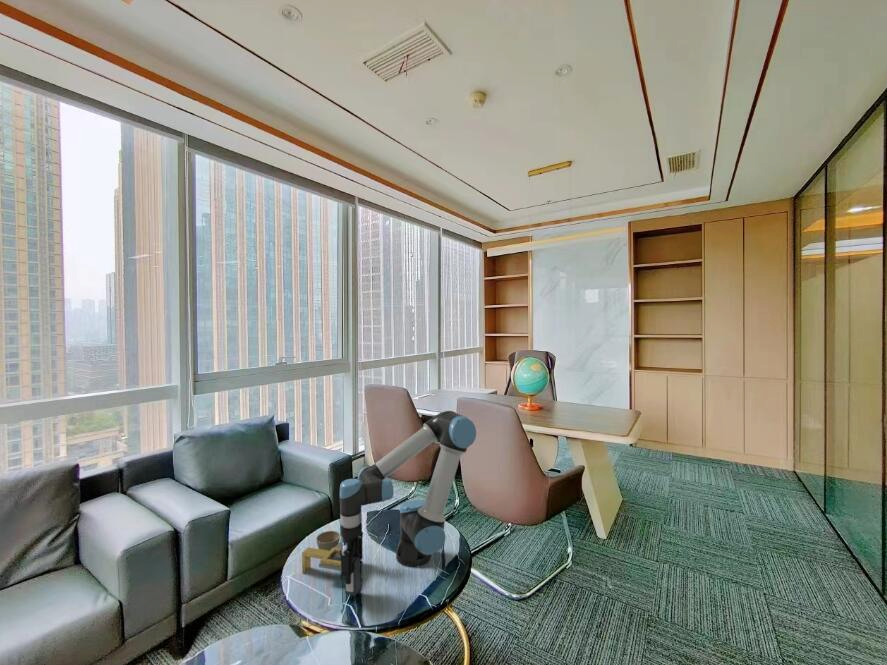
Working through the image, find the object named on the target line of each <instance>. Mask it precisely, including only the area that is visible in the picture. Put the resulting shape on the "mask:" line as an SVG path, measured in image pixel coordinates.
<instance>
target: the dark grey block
mask: <svg viewBox="0 0 887 665" xmlns="http://www.w3.org/2000/svg"><path fill="white" fill-rule="evenodd" d="M360 561H361V559H360V556H355V555H353V564H352V573H353V581H354V591H353V592H349V591H346V576H344V584H345V586H344V587H345V595H351V596H354V597H355V596H357V595H358V593H359V591H360V590H361V588H362V587H361V564H360Z"/></svg>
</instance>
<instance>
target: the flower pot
mask: <svg viewBox="0 0 887 665" xmlns="http://www.w3.org/2000/svg"><path fill="white" fill-rule="evenodd" d="M340 540H341V533H340V532H338V531H337V530H328V531H322V532H321V533H319V534H318V535H317V536H316V538H315V541H316V546H317V549H321V550H327V551H330V550H331V549H332V548H333V547H334V548H335V547H336V546H337V545H338V544H339V542H340Z"/></svg>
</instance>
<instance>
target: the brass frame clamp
mask: <svg viewBox="0 0 887 665" xmlns="http://www.w3.org/2000/svg"><path fill="white" fill-rule="evenodd" d="M341 537H342V536H341ZM343 548H344V538H343V537H342V542H341V541H339V544H338V545H337V546H336V547H335V548H334V547H333V548H332V549H331V550H330V551H327V550H321V549H319V548H314V547H309V546H308V547H307V548H305V549H304V550H303V551H302V552H301V566H302V567H301V568H302V569H301V570H302V571H301V573H302V574H303V575H304V574H306V573H307V572H309V570H310V569H311V568H312V567H311V566H312V565H311V564H312V562H311V561H312V560H311V558H312V559H313V558H314V559H318V560H320V562H319V564H318V568H323V569H329V570H334V571H337V572H338V571H340V572H341V559H340V560H336V559H334V557H339V558H341V556H340V550H343Z"/></svg>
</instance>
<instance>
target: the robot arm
mask: <svg viewBox="0 0 887 665" xmlns="http://www.w3.org/2000/svg"><path fill="white" fill-rule="evenodd" d="M422 425H423V426H422V427H421V428H420V429H419V430H418V431H416V432H415V433H413V435H410V437H408V438H407V439H405V440H404V441H403V442H401V443H400V444H399V445H397V446H396V447H395V448H393V449H392V450H391V451H390V452H388V453H387V454H386V455H384V456H383V457H382V458H380V459H379V460H378V461H376V462H375V463H374V464H372V465H371V466H367V465H366V466H364V467H362V468H360V470H359V471H358V473H357V478H348V479H345V480H342V481H341V483H340V486H339V508H340V511H339V512H340V513H339V514H340V515H339V516H340V537H343V538H344V548H343V550H340V556H341V557H340V560H341V571H340V572H341V573H340V574H341V576H342V577H345V576H346V591H349V592H353V591H354V581H353V573H352V564H353V555H355V556H360V565H362V564H363V561H361V560H363V556H364V555H363V537H364V532H363V527H362V526H363V523H362V521H363V518H362V507H363V506H367V505H371V504H377V503H382V502H383V503H384V502H386V501H389V500H392V498H393V497H394V485H393V482H392V480H391V479H390V478H388V477H389V476H391V475H392V474H393V473H395V472H396V471H397V470H399V469H400V468H401V467H403V465H405V464H406V463H408V462H409V461H410V460H412V459H413V458H414V457H415V456H417V455H418V454H419V453H421V452H422V451H423V450H424V449H426V448H427V447H429V446H430V445H431V444H433V443H438V444H439V447H440V451H439V454H438V457H437V461H436V463H435V467H434V470H433V473H432V476H431V480H430V483H429V486H428V490H427V492H426V496H425V499H424V500H422V499H412V500H407V501H404V502H402V503H401V505H400V508H399V509H400V510H399V541H398V544H397V547H396V552H395V559H396V561H397V562H398V564H400V565H402V566H405V567H412V568H413V567H419V566H420V567H421V566H423V565H425V564H427V563H429V561H430V560H431V558H432V555H433V554H436V552H438V551H439V550H441V549H442V547H443V546H444V544H445V541H446V534H445V533H446V532H445V529H444V526H445V522H446V516H445V515H444V513H445V510H446V506H447V504H448V503H447V502H448V499H449V496H450V493H451V490H452V486H453V482H454V480H455V477H456V474H457V469H458V467H459V464H460V463H459V462H460V460H461V456H462V455H464V454H466V452H467V450H468V448H469V447H470V446H472V445H473V444H474V442H475V440H476V438H477V428H476V426H475V423H474V422H473V421H472V420H471V419H470V418H469V417H467V416H465V415H461V414H460V413H457V412H455V411H453V410H452V411H451V410H445V411H442V412H439V413H437V414H436V415H434V416H433V417H431V418H429V419H428V420H427V421H426V422H424V423H423V424H422Z"/></svg>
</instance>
